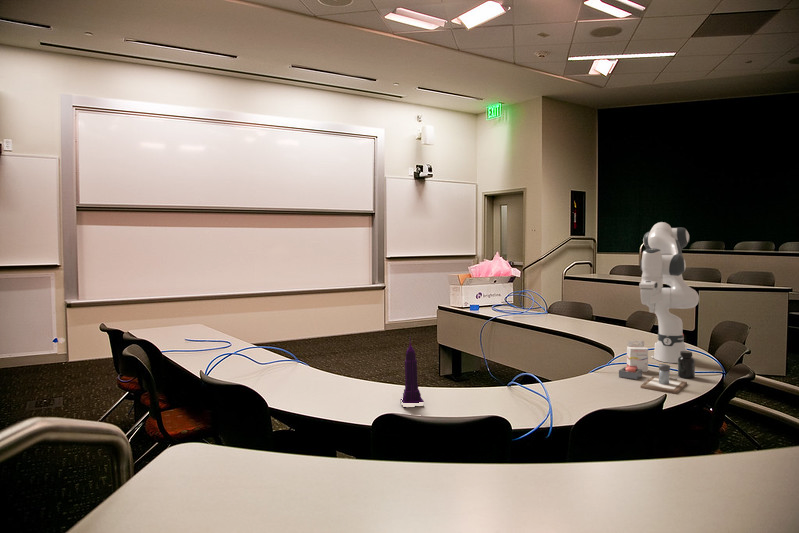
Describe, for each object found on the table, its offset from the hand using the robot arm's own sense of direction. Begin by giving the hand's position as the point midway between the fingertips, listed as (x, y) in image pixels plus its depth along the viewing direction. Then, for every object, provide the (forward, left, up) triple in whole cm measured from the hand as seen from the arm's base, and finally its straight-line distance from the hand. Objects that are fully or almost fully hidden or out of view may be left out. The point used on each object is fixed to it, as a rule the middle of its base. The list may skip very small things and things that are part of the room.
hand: (652, 312), depth 223 cm
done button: (+6, -8, -30) cm, 31 cm away
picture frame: (+12, +8, -31) cm, 34 cm away
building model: (+101, -63, -31) cm, 123 cm away
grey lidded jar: (+12, +8, -30) cm, 33 cm away
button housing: (+6, -8, -31) cm, 32 cm away
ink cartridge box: (-7, -9, -31) cm, 33 cm away
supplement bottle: (-9, +12, -31) cm, 35 cm away
